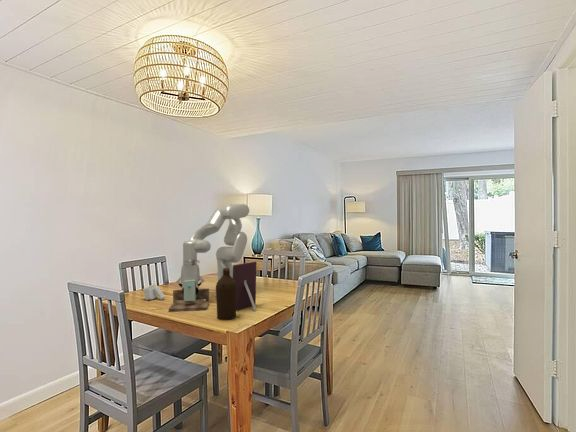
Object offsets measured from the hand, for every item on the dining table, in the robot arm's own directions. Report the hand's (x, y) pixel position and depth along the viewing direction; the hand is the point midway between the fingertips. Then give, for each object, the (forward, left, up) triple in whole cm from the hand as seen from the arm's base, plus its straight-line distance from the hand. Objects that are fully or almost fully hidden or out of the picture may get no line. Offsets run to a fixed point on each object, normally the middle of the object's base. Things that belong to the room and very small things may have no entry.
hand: (190, 294), depth 182 cm
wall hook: (+23, -19, -7) cm, 31 cm away
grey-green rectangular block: (0, 0, -3) cm, 3 cm away
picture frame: (-33, +12, -7) cm, 36 cm away
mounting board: (0, +2, -7) cm, 7 cm away
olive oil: (-21, +23, -7) cm, 32 cm away
